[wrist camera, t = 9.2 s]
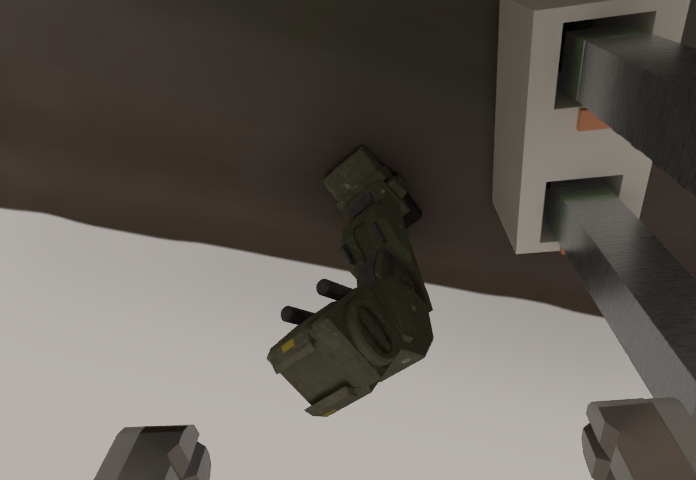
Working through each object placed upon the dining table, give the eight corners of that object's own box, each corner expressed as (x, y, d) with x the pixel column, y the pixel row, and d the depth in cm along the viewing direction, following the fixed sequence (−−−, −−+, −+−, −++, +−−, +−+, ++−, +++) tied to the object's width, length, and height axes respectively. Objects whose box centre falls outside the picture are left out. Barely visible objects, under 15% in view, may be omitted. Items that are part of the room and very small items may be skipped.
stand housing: (500, -5, 40) (536, 11, 31) (623, -22, 39) (698, -10, 30) (492, 201, 51) (517, 257, 42) (588, 192, 49) (636, 248, 41)
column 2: (550, 181, 40) (701, 390, 22) (599, 177, 40) (797, 385, 21) (545, 226, 43) (677, 448, 24) (591, 222, 42) (763, 445, 24)
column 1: (565, 31, 34) (795, 142, 16) (624, 23, 34) (931, 129, 15) (558, 93, 36) (750, 254, 18) (613, 87, 36) (867, 245, 17)
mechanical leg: (451, 232, 52) (450, 437, 25) (400, 266, 55) (349, 484, 28) (373, 135, 50) (276, 242, 22) (324, 175, 52) (186, 315, 25)
